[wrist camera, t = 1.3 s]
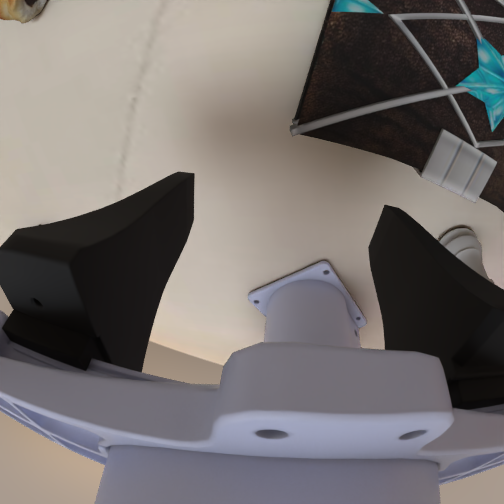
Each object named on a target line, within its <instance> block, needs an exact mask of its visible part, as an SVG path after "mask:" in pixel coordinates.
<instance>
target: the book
mask: <svg viewBox="0 0 504 504" xmlns="http://www.w3.org/2000/svg"><path fill="white" fill-rule="evenodd" d="M292 123H293V125H291V126H290V132H291V134H292V136H295V135H298V134H300V135H305V136H309V137H314V138H318V139H322V140H327V141H331V142H335V143H339V144H343V145H346V146H350V147H354V148H358V149H361V150H365V151H368V152H372V153H375V154H379V155H382V156H385V157H389V158H392V159H395V160H397V161H400V162H402V163H405V164H407V165H410V166H412V167H413V168H414V169H415V170H416V171H417V173H418V174H419V175H420V176H421V177H422V178H424V179H426V180H428V181H431V182H433V183H435V184H437V185H439V186H441V187H443V188H445V189H448V190H450V191H452V192H454V193H456V194H458V195H460V196H462V197H464V198H466V199H468V200H470V201H472V202H473V203H476V201H477V199H478V197H480V198H482V199H484V200H486V201H488V202H489V203H491V204H493V205H495V206H497V207H498V208H499V209H500V210H502V211H503V212H504V0H331V1H330V4H329V7H328V10H327V14H326V17H325V20H324V24H323V27H322V30H321V33H320V37H319V40H318V43H317V46H316V50H315V53H314V56H313V60H312V63H311V66H310V69H309V73H308V76H307V79H306V83H305V86H304V89H303V92H302V96H301V99H300V102H299V106H298V109H297V112H296V115H295V118H294V119H292Z"/></svg>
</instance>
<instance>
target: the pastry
mask: <svg viewBox="0 0 504 504" xmlns="http://www.w3.org/2000/svg"><path fill="white" fill-rule="evenodd" d="M46 1H47V0H0V19H3V20H17V21H20V22H21V23H26V22H29V21H30V20H31V19H33V18H34V17H35V15H37V14H39V13H40V12H41V10H42V9H43V7H44V5H45V3H46Z"/></svg>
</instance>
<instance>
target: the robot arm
mask: <svg viewBox="0 0 504 504" xmlns="http://www.w3.org/2000/svg"><path fill="white" fill-rule="evenodd" d="M193 221H194V173H186V172H177V173H174V174H172V175H170V176H168V177H166V178H164V179H162V180H160V181H158V182H156V183H154V184H153V185H151V186H149V187H147V188H145V189H143V190H141V191H139V192H137V193H135V194H133V195H131V196H129V197H127V198H125V199H123V200H121V201H118V202H116V203H114V204H111V205H109V206H106V207H104V208H101V209H98V210H95V211H92V212H89V213H86V214H83V215H80V216H77V217H74V218H70V219H66V220H63V221H58V222H54V223H50V224H45V225H39V226H33V227H27V228H21V229H17V230H15V231H14V233H13V234H12V235H11V236H10V237H9V238H8V239H7V240H6V241H5V242H4V243H3V245H2V246H1V247H0V285H1V288H2V289H3V291H4V293H5V295H6V297H7V299H8V301H9V302H10V304H11V306H12V308H13V309H14V310H13V311H12V313H11V314H10V316H9V317H8V316H7V315H6V314H5V313H4V312H2V311H1V310H0V411H1V412H3V413H5V414H6V415H8V416H9V417H11V418H12V419H14V420H16V421H17V422H19V423H21V424H23V425H24V426H26V427H28V428H30V429H31V430H33V431H35V432H36V433H38V434H40V435H42V436H44V437H46V438H48V439H49V440H51V441H53V442H55V443H57V444H59V445H61V446H63V447H65V448H67V449H69V450H72V451H74V452H76V453H78V454H80V455H82V456H85V457H87V458H89V459H91V460H94V461H96V462H99V463H101V464H104V465H105V468H104V471H103V475H102V478H101V482H100V486H99V489H98V493H97V497H96V501H95V504H440V492H439V485H442V484H446V483H449V482H453V481H456V480H459V479H463V478H466V477H469V476H472V475H475V474H478V473H481V472H484V471H486V470H489V469H492V468H495V467H497V466H500V465H503V464H504V290H503V289H501V288H500V287H498V286H496V285H495V284H493V283H492V282H490V281H489V280H487V279H486V278H484V277H483V276H481V275H480V274H478V273H477V272H476V271H474V270H473V269H471V268H470V267H469V266H468V265H466V264H465V263H464V262H462V261H461V260H460V259H458V258H457V257H456V256H455V255H454V254H452V253H451V252H450V251H449V250H448V249H447V248H445V247H444V246H443V245H442V244H441V243H440V242H439V241H437V240H436V239H435V238H434V237H433V236H432V235H431V234H430V233H429V232H428V231H426V230H425V229H424V228H423V227H422V226H421V225H420V224H419V223H418V222H416V221H415V220H414V219H413V218H412V217H411V216H409V215H408V214H407V213H406V212H404V211H403V210H401V209H400V208H397V207H392V206H388V205H384V208H383V211H382V214H381V216H380V219H379V222H378V224H377V227H376V229H375V232H374V234H373V237H372V240H371V242H370V245H369V247H368V248H369V258H370V267H371V272H372V276H373V280H374V285H375V289H376V293H377V297H378V301H379V305H380V310H381V314H382V320H383V327H384V340H385V350H379V349H365V348H361V345H360V338H359V330H358V328H361V327H363V326H365V325H366V324H367V321H366V319H365V317H364V315H363V314H362V312H361V311H360V309H359V308H358V306H357V305H356V303H355V302H354V300H353V299H352V297H351V295H350V294H349V292H348V291H347V289H346V288H345V286H344V285H343V283H342V282H341V280H340V279H339V277H338V276H337V274H336V273H335V272H334V270H333V269H332V267H331V266H330V264H329V263H328V262H327V261H321V262H319V263H316V264H314V265H312V266H310V267H307V268H305V269H303V270H301V271H299V272H296V273H294V274H292V275H289V276H287V277H285V278H283V279H280V280H278V281H276V282H274V283H271V284H269V285H267V286H264V287H262V288H260V289H257V290H255V291H253V292H250V293H249V294H248V300H249V301H250V302H251V303H252V304H253V305H254V306H255V307H256V308H257V309H258V310H259V311H260V312H261V313H262V314H263V315H264V316H265V317H266V326H265V336H264V342H260V343H258V344H255V345H252V346H249V347H246V348H244V349H241V350H238V351H236V352H234V353H232V355H231V356H230V358H229V359H228V361H227V362H226V363H225V365H224V366H223V371H222V376H221V382H220V385H218V384H190V383H185V382H180V381H175V380H171V379H167V378H162V377H158V376H153V375H150V374H145V373H142V367H143V363H144V358H145V354H146V349H147V346H148V341H149V337H150V334H151V330H152V326H153V323H154V319H155V316H156V312H157V309H158V306H159V303H160V300H161V297H162V294H163V291H164V289H165V286H166V284H167V282H168V279H169V277H170V275H171V273H172V271H173V269H174V267H175V265H176V263H177V261H178V258H179V256H180V254H181V252H182V250H183V248H184V246H185V244H186V242H187V239H188V236H189V233H190V230H191V227H192V224H193ZM325 270H329V271H325ZM256 300H258V301H256Z"/></svg>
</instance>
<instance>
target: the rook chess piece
mask: <svg viewBox="0 0 504 504" xmlns="http://www.w3.org/2000/svg"><path fill="white" fill-rule="evenodd" d="M439 242H440V243H441V244H442V245H443V246H444V247H445V248H447V249H448V250H449V251H450V252H451V253H452V254H454V255H455V256H456V257H457V258H458V259H460V260H461V261H462V262H464V263H465V264H466V265H468V266H469V267H470V268H471V269H473V270H474V271H476V272H477V273H478V274H480V275H481V276H483V277H484V278H486V279H487V280H489V281H490V282H492V283H493V284H494V282H493V280H492V279H489V278H488V276H487V274H486V271H485V269H484V266H483V263H482V247H481V244H480V242H479V240H478V239H477V236H476V235H475V233H474V232H473V231H471V230H469V229H467V228H459V229H454V230H451V231H449V232H448V233H446V234H445V235H444V236H443V237H442V238H441V240H440V241H439Z"/></svg>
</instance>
